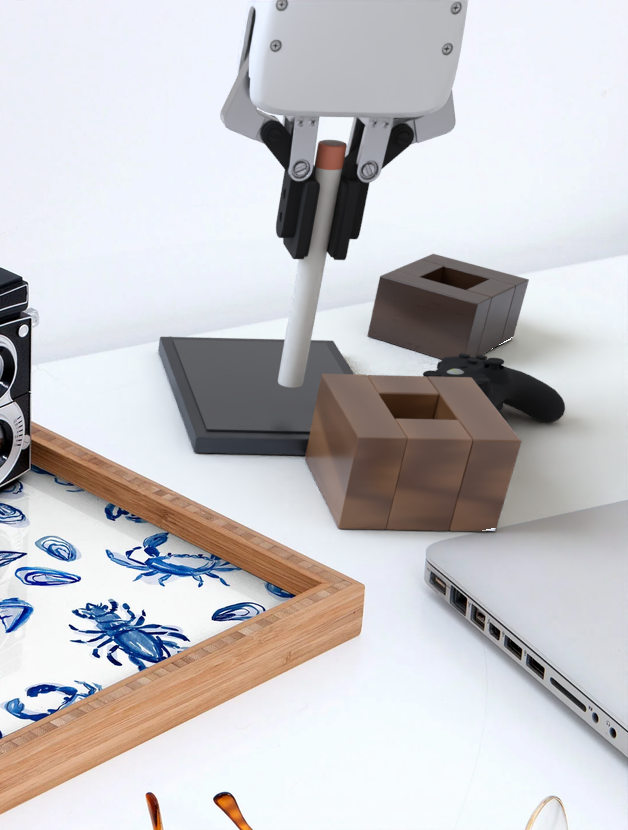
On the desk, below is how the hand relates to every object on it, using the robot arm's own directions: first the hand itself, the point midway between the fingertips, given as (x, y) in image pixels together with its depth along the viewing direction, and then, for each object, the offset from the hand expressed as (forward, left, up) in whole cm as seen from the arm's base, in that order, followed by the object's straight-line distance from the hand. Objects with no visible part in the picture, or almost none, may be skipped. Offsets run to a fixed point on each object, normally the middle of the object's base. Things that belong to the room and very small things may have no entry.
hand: (313, 249), depth 78 cm
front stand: (-4, +8, -10) cm, 14 cm away
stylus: (0, 0, -8) cm, 8 cm away
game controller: (-11, 0, -10) cm, 15 cm away
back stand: (-13, -15, -10) cm, 22 cm away
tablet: (0, -4, -10) cm, 11 cm away
